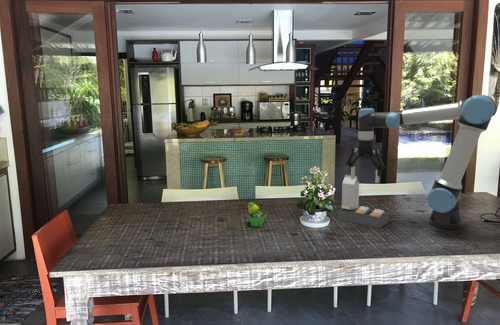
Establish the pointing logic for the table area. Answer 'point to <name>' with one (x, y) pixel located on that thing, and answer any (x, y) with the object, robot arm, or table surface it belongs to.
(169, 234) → the table surface
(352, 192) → the milk carton
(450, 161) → the robot arm
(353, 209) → the far rocker
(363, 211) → the middle rocker
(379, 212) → the near rocker
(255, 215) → the chick basket toy
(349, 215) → the switch panel
